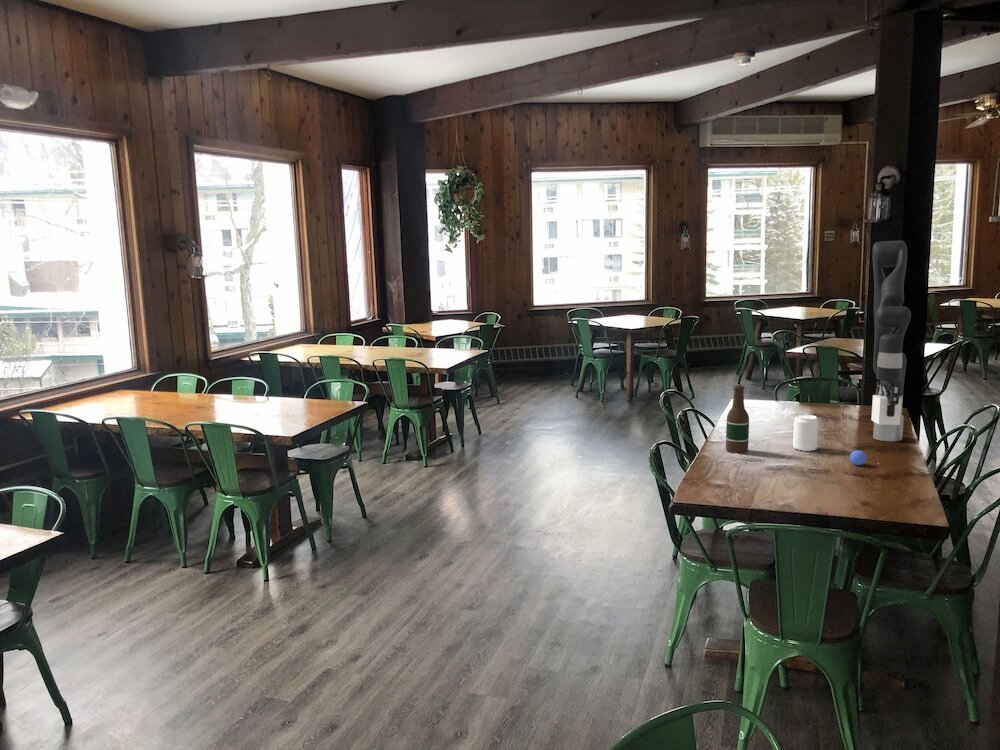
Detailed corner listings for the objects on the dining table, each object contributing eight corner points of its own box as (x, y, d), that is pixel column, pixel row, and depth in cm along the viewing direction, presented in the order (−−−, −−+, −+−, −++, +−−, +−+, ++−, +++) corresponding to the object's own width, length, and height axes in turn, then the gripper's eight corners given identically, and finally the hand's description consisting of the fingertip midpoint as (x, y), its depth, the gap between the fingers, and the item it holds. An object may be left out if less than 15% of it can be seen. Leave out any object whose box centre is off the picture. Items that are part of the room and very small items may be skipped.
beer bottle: (748, 449, 295) (750, 384, 291) (747, 454, 288) (750, 388, 284) (726, 447, 297) (728, 383, 293) (724, 453, 290) (727, 387, 286)
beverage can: (818, 452, 289) (820, 419, 287) (794, 451, 291) (796, 418, 289) (814, 446, 297) (816, 414, 295) (791, 445, 299) (792, 414, 297)
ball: (862, 463, 275) (863, 448, 274) (868, 467, 270) (869, 452, 269) (847, 462, 275) (848, 448, 274) (852, 467, 270) (853, 452, 270)
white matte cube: (891, 420, 277) (893, 395, 276) (899, 424, 271) (901, 398, 269) (871, 420, 278) (872, 395, 277) (878, 424, 271) (880, 398, 270)
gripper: (909, 368, 264) (906, 418, 266) (892, 363, 278) (889, 410, 281) (886, 368, 265) (882, 418, 267) (870, 362, 279) (866, 410, 281)
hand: (886, 414), depth 274 cm, fingers closed on white matte cube, 7 cm apart
